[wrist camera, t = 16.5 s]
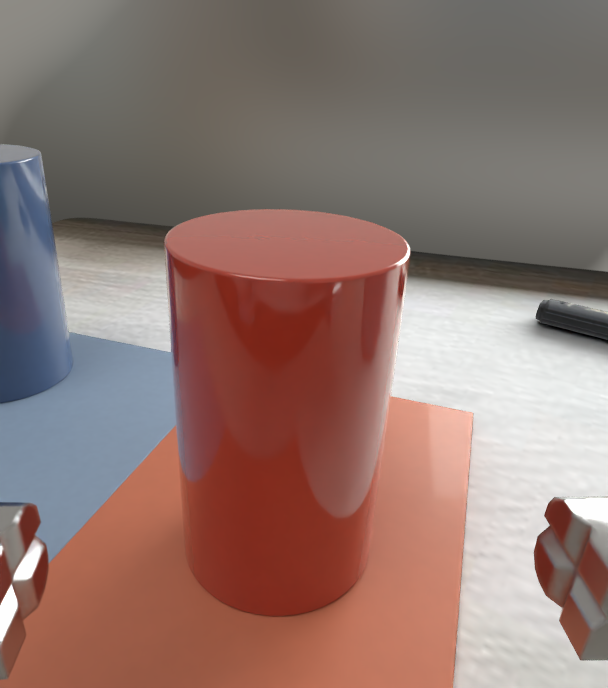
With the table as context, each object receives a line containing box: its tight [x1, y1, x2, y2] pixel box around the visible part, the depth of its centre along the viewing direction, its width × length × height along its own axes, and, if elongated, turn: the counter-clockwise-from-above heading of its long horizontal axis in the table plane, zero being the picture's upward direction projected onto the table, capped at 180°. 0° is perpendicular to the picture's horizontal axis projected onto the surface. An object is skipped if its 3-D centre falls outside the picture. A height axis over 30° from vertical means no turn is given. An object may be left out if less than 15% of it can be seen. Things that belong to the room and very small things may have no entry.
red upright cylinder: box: [164, 209, 411, 616], centre depth 16 cm, size 6×6×10 cm
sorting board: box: [0, 332, 473, 688], centre depth 20 cm, size 26×20×1 cm
